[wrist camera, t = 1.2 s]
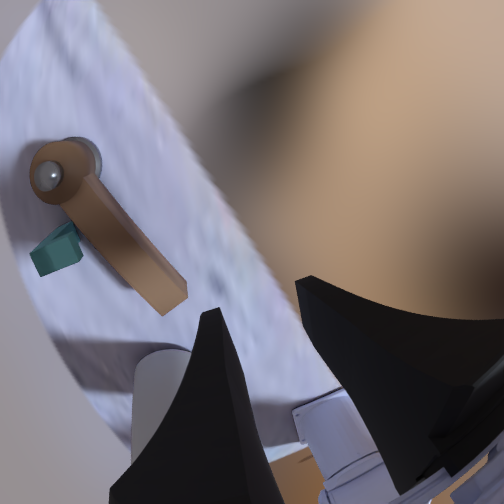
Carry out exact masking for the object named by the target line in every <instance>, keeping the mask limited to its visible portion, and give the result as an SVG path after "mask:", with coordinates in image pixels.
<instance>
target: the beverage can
mask: <svg viewBox="0 0 504 504" xmlns="http://www.w3.org/2000/svg"><path fill="white" fill-rule="evenodd" d="M190 356H191V352H187V351H183V350H176V349H167V350H160V351H156V352H153V353H151V354H149V355H147V356H145V357H144V358H143V359H142V360H141V361H140V362H139V363H138V364H137V366H136V369H135V373H134V385H133V401H132V424H131V465H132V464H133V462H134V461H135V460H136V458H137V457H138V456H139V455H140V453H141V452H142V450H143V449H144V448H145V446H146V445H147V443H148V442H149V440H150V439H151V438H152V436H153V435H154V433H155V432H156V430H157V428H158V427H159V425H160V423H161V422H162V420H163V418H164V416H165V414H166V413H167V411H168V409H169V407H170V405H171V403H172V401H173V399H174V397H175V395H176V393H177V391H178V388H179V386H180V384H181V381H182V379H183V376H184V373H185V371H186V368H187V365H188V362H189V359H190Z"/></svg>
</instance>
